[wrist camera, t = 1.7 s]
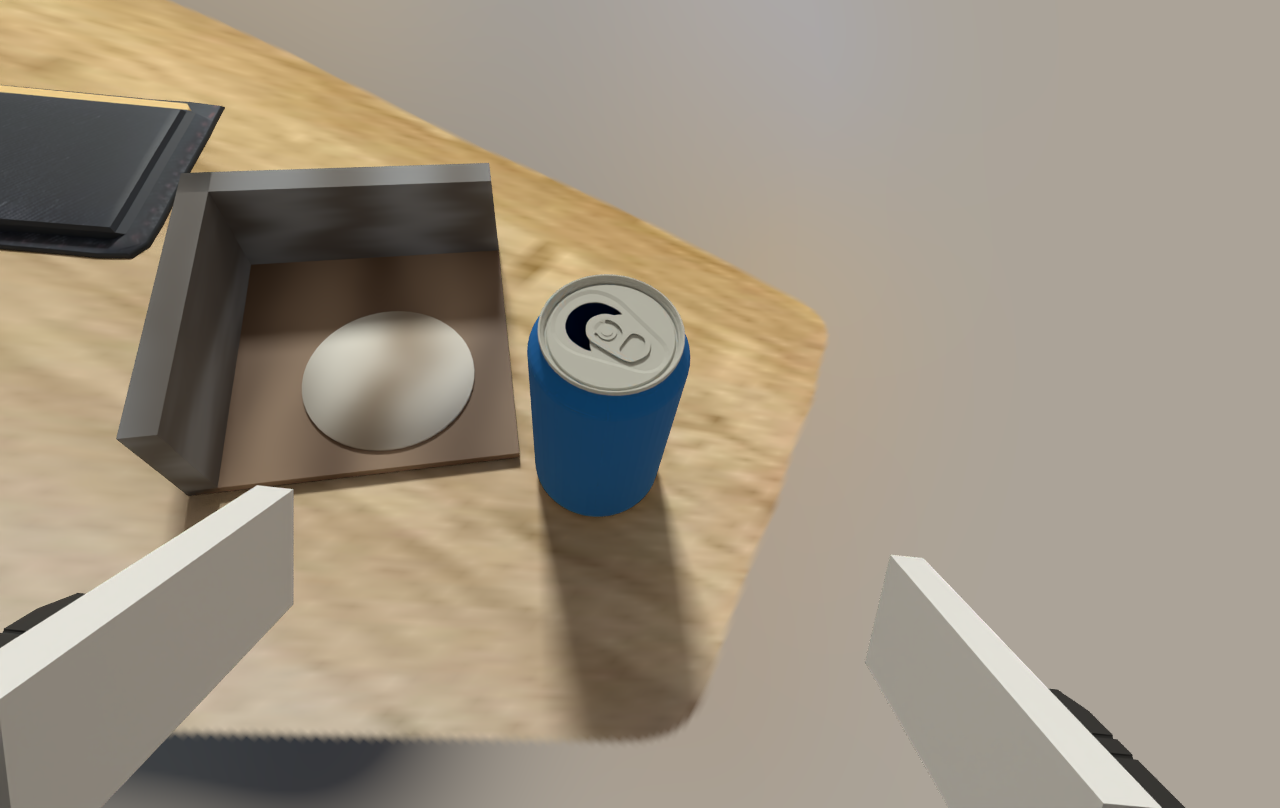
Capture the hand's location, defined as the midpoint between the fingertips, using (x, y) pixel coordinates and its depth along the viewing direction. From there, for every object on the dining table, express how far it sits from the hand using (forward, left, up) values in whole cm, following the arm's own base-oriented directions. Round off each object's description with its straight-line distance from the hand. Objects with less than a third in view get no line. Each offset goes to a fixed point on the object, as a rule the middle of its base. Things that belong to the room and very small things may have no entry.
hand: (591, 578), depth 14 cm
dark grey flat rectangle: (-30, +37, -18) cm, 51 cm away
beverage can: (+3, +11, -18) cm, 21 cm away
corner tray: (-9, +20, -17) cm, 28 cm away
